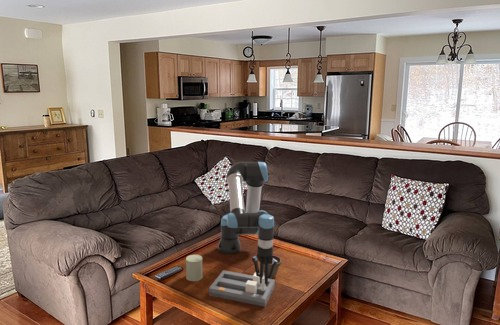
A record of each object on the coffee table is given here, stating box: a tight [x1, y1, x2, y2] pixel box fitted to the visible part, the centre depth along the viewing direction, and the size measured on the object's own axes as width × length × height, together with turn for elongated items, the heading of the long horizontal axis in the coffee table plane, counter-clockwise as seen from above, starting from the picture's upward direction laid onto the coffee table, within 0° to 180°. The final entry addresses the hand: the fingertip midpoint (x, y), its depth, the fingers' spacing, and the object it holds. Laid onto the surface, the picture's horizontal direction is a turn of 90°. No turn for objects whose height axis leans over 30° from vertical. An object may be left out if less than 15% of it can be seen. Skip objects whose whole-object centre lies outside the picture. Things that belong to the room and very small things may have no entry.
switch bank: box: [208, 269, 276, 308], centre depth 197 cm, size 20×30×4 cm, turn 73°
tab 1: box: [245, 280, 257, 294], centre depth 190 cm, size 4×5×6 cm
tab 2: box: [252, 271, 265, 285], centre depth 198 cm, size 4×5×6 cm
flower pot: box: [263, 255, 282, 279], centre depth 213 cm, size 12×11×10 cm
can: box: [185, 254, 203, 282], centre depth 208 cm, size 9×9×12 cm
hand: (263, 289), depth 189 cm, fingers closed
